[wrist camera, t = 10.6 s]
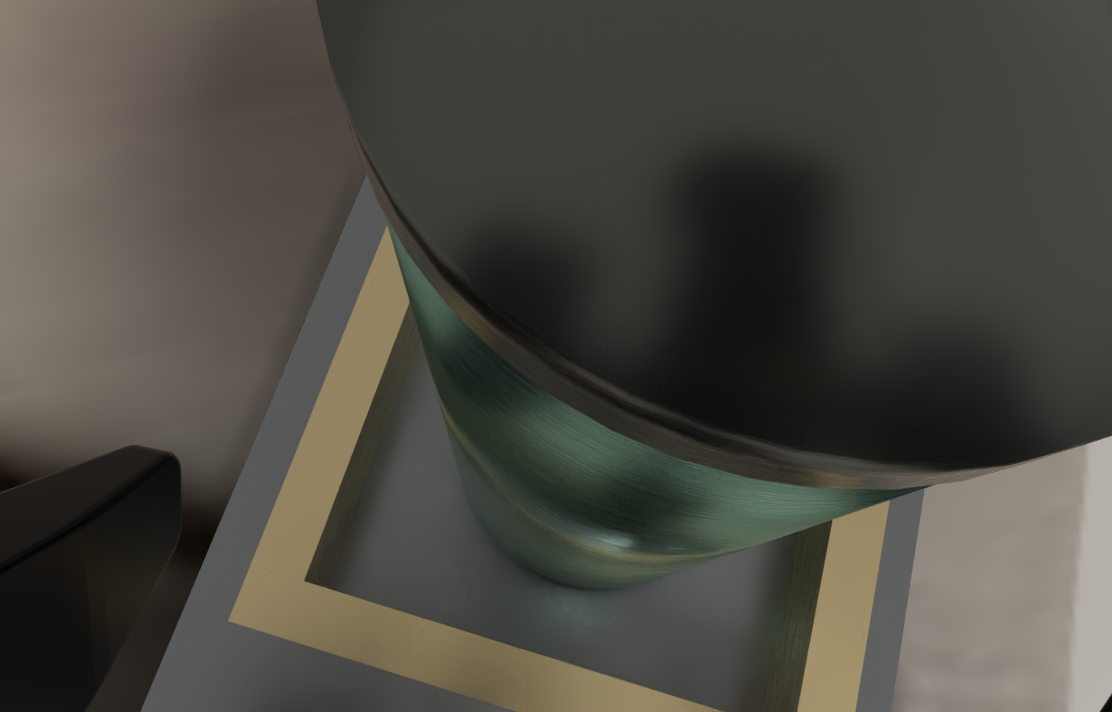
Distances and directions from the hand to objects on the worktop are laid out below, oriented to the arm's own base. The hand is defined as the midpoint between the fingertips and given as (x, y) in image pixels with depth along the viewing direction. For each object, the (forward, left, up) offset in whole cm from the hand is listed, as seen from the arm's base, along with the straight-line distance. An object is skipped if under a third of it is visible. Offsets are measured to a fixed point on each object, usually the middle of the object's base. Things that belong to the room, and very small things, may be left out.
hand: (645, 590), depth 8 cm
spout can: (+5, +1, -10) cm, 11 cm away
